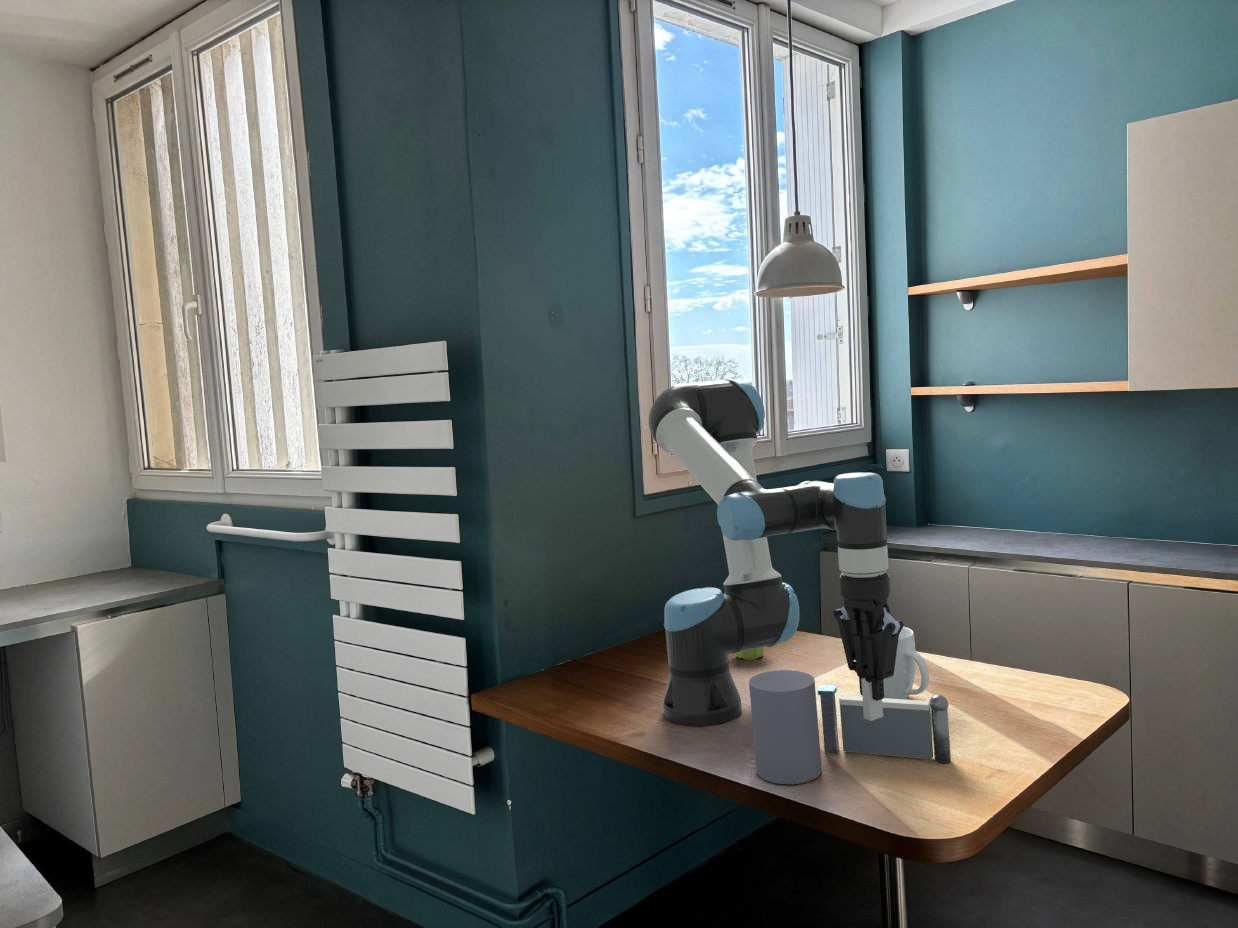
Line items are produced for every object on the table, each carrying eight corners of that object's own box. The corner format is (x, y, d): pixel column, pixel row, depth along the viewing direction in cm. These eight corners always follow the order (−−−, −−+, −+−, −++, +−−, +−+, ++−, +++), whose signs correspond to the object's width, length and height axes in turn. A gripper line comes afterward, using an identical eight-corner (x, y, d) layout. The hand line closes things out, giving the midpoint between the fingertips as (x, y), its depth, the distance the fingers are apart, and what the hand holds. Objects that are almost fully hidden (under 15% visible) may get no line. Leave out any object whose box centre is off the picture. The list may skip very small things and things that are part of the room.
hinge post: (932, 763, 137) (928, 697, 136) (934, 756, 139) (929, 691, 139) (951, 764, 136) (947, 698, 135) (952, 757, 138) (948, 692, 137)
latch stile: (822, 753, 144) (817, 690, 144) (825, 747, 147) (820, 685, 146) (838, 754, 143) (833, 691, 142) (841, 748, 146) (836, 685, 145)
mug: (948, 702, 162) (943, 633, 161) (910, 718, 156) (905, 647, 155) (884, 684, 174) (879, 621, 173) (846, 699, 168) (841, 633, 167)
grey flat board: (933, 754, 139) (929, 700, 138) (932, 759, 137) (928, 704, 137) (845, 746, 145) (841, 695, 144) (843, 751, 143) (839, 699, 143)
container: (750, 783, 136) (742, 690, 135) (763, 756, 145) (756, 669, 144) (817, 788, 132) (809, 692, 131) (825, 760, 142) (818, 670, 141)
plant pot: (773, 660, 197) (770, 622, 196) (732, 663, 197) (729, 626, 196) (766, 648, 206) (764, 612, 205) (727, 652, 206) (724, 616, 205)
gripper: (913, 573, 132) (922, 723, 134) (851, 562, 143) (861, 700, 145) (877, 582, 128) (887, 736, 130) (817, 570, 139) (827, 711, 141)
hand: (873, 717), depth 137 cm, fingers closed
